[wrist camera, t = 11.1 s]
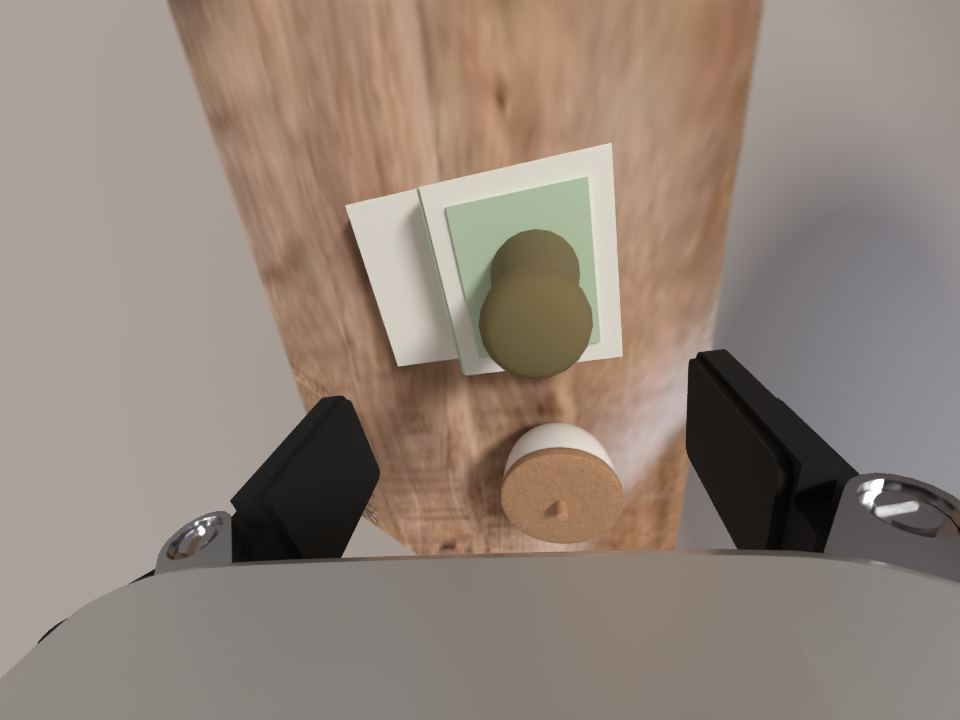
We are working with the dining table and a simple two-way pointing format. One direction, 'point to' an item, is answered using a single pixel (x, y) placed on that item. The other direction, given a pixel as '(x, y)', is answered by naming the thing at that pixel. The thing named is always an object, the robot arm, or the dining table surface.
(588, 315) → the cork
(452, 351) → the platform
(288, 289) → the dining table surface
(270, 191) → the dining table surface
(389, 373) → the dining table surface
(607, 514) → the lidded jar
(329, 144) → the dining table surface
